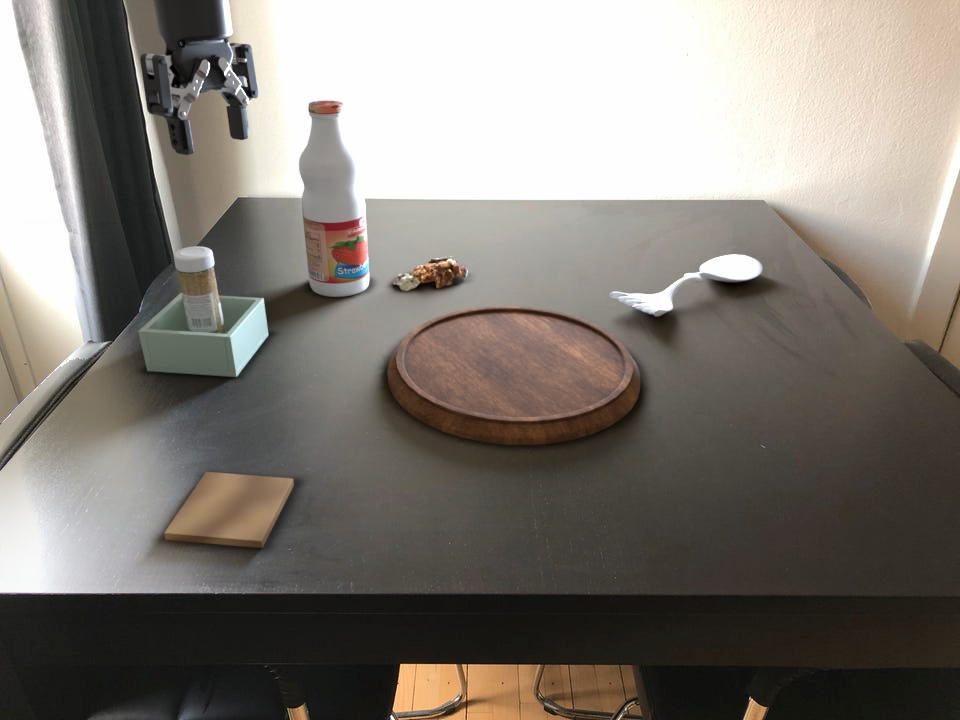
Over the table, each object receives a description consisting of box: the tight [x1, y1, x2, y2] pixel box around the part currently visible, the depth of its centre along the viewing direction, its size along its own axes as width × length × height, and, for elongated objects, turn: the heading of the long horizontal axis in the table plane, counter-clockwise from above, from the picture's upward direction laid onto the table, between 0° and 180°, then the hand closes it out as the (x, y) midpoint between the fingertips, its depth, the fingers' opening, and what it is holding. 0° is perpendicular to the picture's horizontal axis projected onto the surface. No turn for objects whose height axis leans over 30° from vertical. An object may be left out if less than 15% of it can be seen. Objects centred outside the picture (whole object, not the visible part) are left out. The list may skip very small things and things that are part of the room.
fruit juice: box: [298, 100, 370, 298], centre depth 111 cm, size 9×9×28 cm
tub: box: [137, 292, 269, 378], centre depth 96 cm, size 12×12×6 cm
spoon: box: [609, 254, 764, 317], centre depth 117 cm, size 9×32×4 cm, turn 131°
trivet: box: [163, 471, 295, 549], centre depth 70 cm, size 9×9×1 cm
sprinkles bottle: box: [173, 245, 225, 334], centre depth 94 cm, size 5×5×13 cm
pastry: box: [393, 255, 469, 292], centre depth 119 cm, size 7×12×4 cm, turn 128°
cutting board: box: [386, 305, 642, 446], centre depth 94 cm, size 32×32×2 cm
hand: (213, 146), depth 85 cm, fingers open, 8 cm apart
